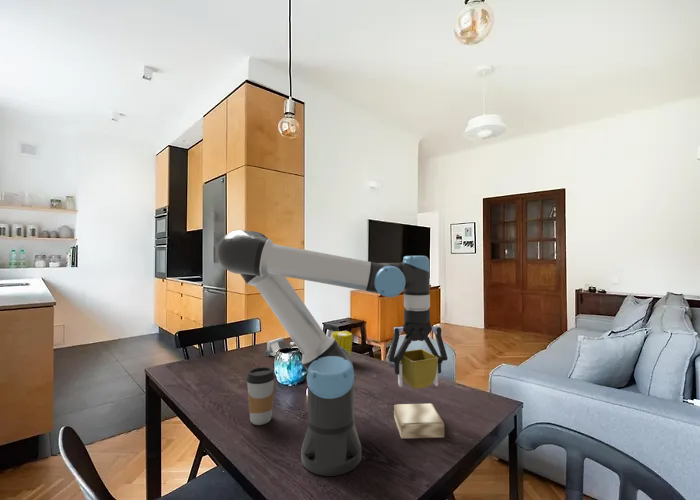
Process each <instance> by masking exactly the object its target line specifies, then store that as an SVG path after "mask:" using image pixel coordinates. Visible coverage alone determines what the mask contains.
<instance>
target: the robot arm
mask: <svg viewBox="0 0 700 500" xmlns="http://www.w3.org/2000/svg"><path fill="white" fill-rule="evenodd" d="M216 249H217V252H216V253H217V260H218V261H219V263H220V265H221V266H222V268H225V270H227V271H228V272H230V273H233V274H235V275H236V274H237V275H240V276H241V277H242V279H243V281H244V282H245V283H246V284H247V286H252V287H255V288H256V289H257V292H259V295H261V297H262V298H263V300H264V301H265V303H266V304H267V305H268V307H269V308H270V309H271V311H272V313H273V314H274V315H275V316H276V318H277V320H278V322H279V323H280V324H281V326H282V327H283V328H284V330H285V331H286V333H287V334H288V336H289V337H290V339H291V340H292V342H294V343H295V346H296V347H298V350H300V352H301V353H302V355H301V364H302V366H303V367H304V368H305V370H306V371H307V374H306V383H307V429H306V432H305V436H304V439H303V442H302V446H301V452H300V455H301V457H300V458H301V460H300V461H301V464H302V465H303V467H304V468H305V469H306V470H307V471H309V472H311V473H313V474H315V475H319V476H324V477H325V476H326V477H334V476H335V477H336V476H341V475H345V474H347V473H349V472H351V471H352V470H354V469H355V468H357V466H359V464H360V462H361V461H362V445H361V441H360V438H359V435H358V432H357V429H356V425H355V371H354V363H353V360H352V358H350V356H349V354H348V353H347V352H346V351H345V350H344V349H343V348H341V347H340V346H339V344H338V343H337V341H336V340H335V339H334V338H333V336H328V335H326V333H325V331H324V330H323V329H322V327H321V326H320V325H319V323H318V322H317V320H316V318H315V317H314V316H313V315H312V313H311V312H310V310H309V309H308V307H307V305H306V304H305V303H304V302H303V301H304V300H302V299H301V297H300V296H299V294H298V292H296V290H295V288H294V287H293V286H292V284H291V282H290V281H289V280H288V278H291V279H298V280H304V281H309V282H314V283H320V284H325V285H332V286H335V287H336V286H337V287H342V288H349V289H352V290H353V289H354V290H359V291H363V292H364V291H365V292H369V293H374V294H379V295H381V296H382V297H385V298H386V297H387V298H394V297H397V296H399V295H400V294H401V293H403V307H404V309H403V325H402V326H400V327H399V326H393V330H392V331H393V336H392V341H391V344H390V347H389V348H390V349H389V352H388V356H387V358H388V361H389V362H390V363H394V375H396V376H397V383H398V386H399V388H402V387H403V376H402V363H401V359H402V357H403V355H404V353H405V351H407V349H408V347H409V346H410V345H411V343H412V342H416V341H419V342H423V341H424V342H425V344H426V346H427V347H428V349H429V350H430V353H431V354H433V355H434V356H436V357H438V364H437V371H436V376H435V378H434V380H433V382H432V384H433V385H434V386H435V387H438V386H439V374H442V364H443V362H444V361H448V355H447V352H446V347H445V345H444V340H443V338H442V327H440V326H439V325H433V326H432V324H431V310H430V308H431V293H430V291H431V289H430V286H431V285H430V281H431V280H430V273H431V269H430V259H429V258H428V256H426V255H405V256H403V260H402V262H372V261H368V260H363V259H362V260H361V259H358V258H351V257H346V256H342V255H336V254H335V255H334V254H329V253H324V252H318V251H314V250H308V249H302V248H297V247H293V246H287V245H282V244H281V245H280V244H276V243H274V242H273V240H271V238H268V237H267V236H266V235H265V234H263V233H261V232H259V231H253V230H251V231H249V230H245V229H244V230H243V229H236V230H232V231H230V232H227V234H225V235H224V236H223V237H222V238H221V239H220V241H219V243H218V245H217V248H216ZM403 332H404V333H405V335H404V336H405V337H404V338H403V341H402V343H401V345H400V346H399V348H398V347H397V346H398V344H399V339H400V336H401V335H402V333H403ZM431 332H432V334H434V337H435V339H436V343H437V346H438V350H439V353H438V351H437V350H436V348H435V347H434V345H433V343H432V341H431V339H430V337H429V335H430V334H431ZM397 348H398V351H397ZM396 351H397V352H396ZM439 354H440V355H439Z"/></svg>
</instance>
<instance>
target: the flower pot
mask: <svg viewBox="0 0 700 500" xmlns="http://www.w3.org/2000/svg"><path fill="white" fill-rule="evenodd" d="M401 363H402V379H403V380H404V382H405V383H406V384H407V385H408V386H409V387H410V388H412V389H414V390H417V389H418V390H419V389H423V388H429V387H430V386H431V385H432V384H433V380H434V378H435V376H436V371H437V364H438V357H436V356H434V355H433V354H432V352H429V351H427V350H425V349H421V348H420V349H412V350H406V351H405V353H404V355H403V357H402V359H401Z"/></svg>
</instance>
